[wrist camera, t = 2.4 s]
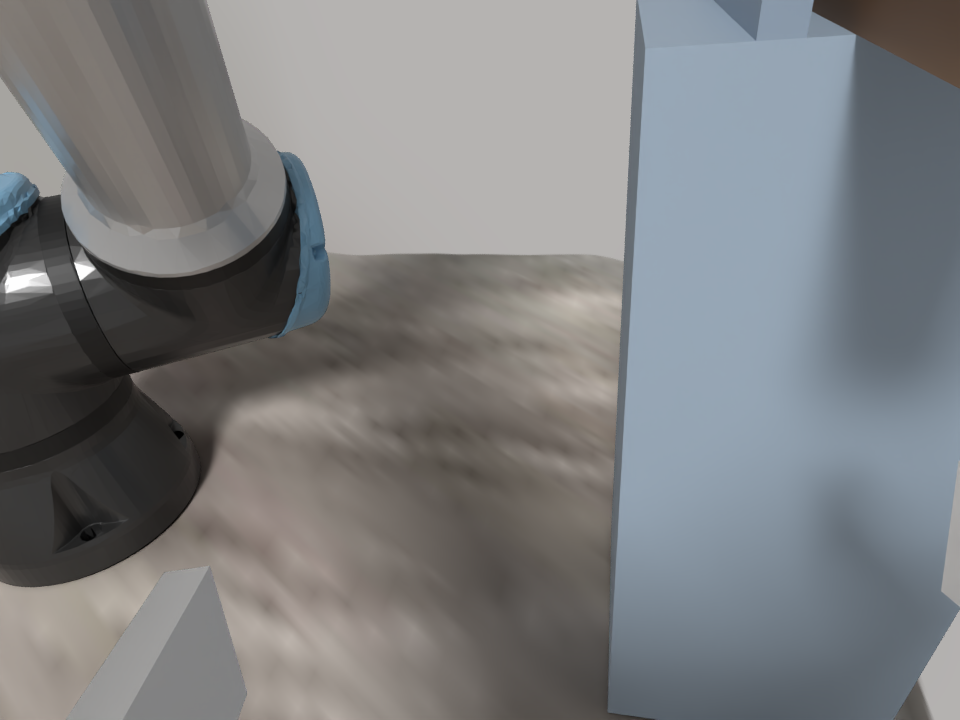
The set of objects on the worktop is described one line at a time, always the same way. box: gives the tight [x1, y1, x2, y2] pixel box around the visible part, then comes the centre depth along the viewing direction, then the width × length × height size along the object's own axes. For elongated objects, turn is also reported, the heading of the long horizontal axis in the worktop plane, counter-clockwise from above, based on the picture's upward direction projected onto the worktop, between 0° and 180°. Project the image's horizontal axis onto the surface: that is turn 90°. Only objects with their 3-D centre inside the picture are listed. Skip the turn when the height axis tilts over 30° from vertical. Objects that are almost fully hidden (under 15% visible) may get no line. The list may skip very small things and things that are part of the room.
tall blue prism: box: [608, 0, 960, 720], centre depth 25 cm, size 12×12×32 cm
